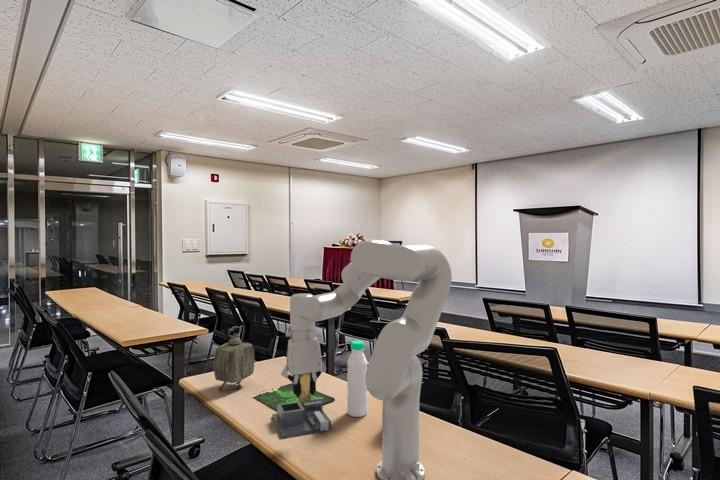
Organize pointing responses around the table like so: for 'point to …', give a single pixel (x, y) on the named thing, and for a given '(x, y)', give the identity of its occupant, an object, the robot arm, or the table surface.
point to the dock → (298, 418)
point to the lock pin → (321, 421)
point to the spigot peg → (304, 387)
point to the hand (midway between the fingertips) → (304, 394)
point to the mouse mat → (287, 397)
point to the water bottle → (357, 381)
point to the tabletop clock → (233, 361)
